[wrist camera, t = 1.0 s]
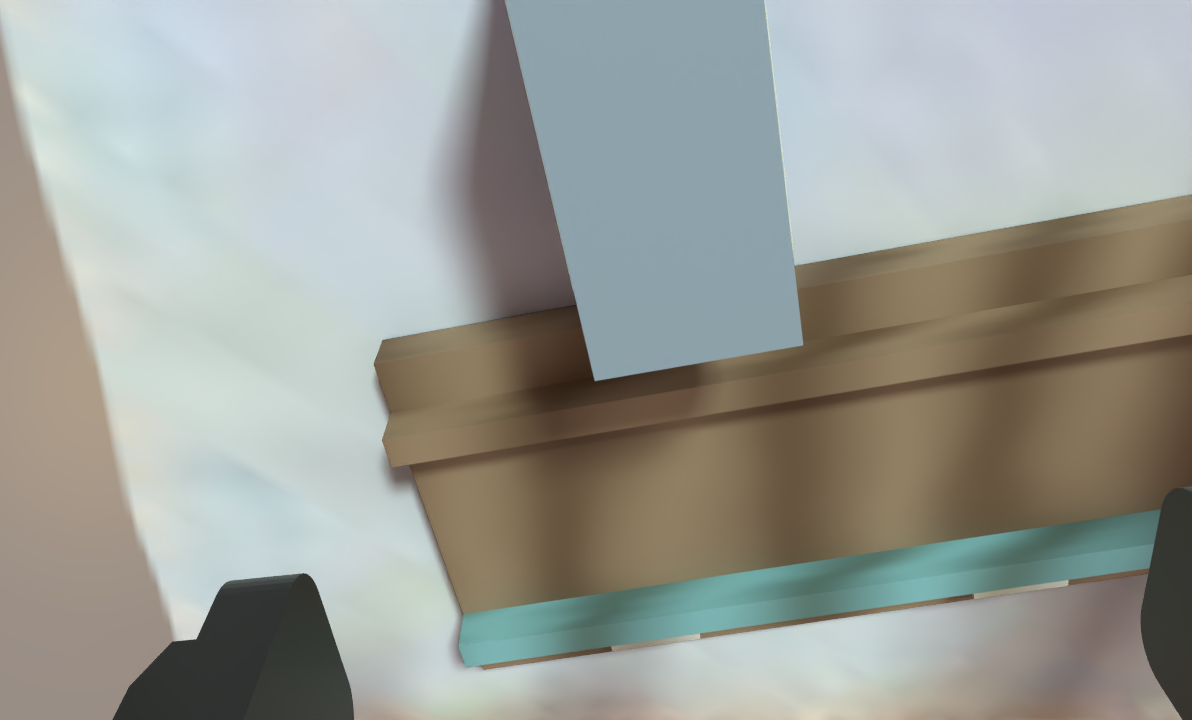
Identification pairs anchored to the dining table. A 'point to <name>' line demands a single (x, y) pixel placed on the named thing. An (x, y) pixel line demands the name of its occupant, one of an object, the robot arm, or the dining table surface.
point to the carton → (663, 175)
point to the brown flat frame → (814, 445)
